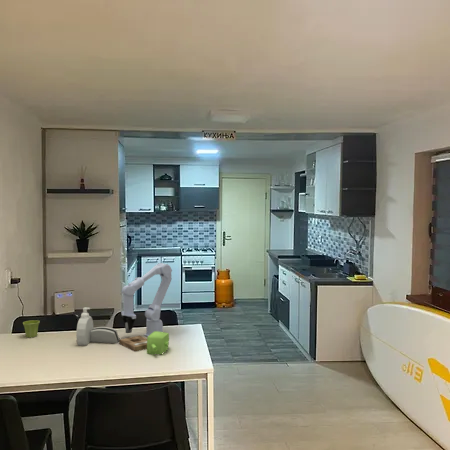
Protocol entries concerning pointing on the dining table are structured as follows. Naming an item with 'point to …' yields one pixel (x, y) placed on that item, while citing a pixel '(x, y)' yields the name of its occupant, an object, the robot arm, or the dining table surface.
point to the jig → (134, 343)
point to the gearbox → (157, 342)
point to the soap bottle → (84, 328)
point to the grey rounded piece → (104, 335)
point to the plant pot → (31, 328)
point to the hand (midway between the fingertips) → (128, 328)
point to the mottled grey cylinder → (127, 328)
